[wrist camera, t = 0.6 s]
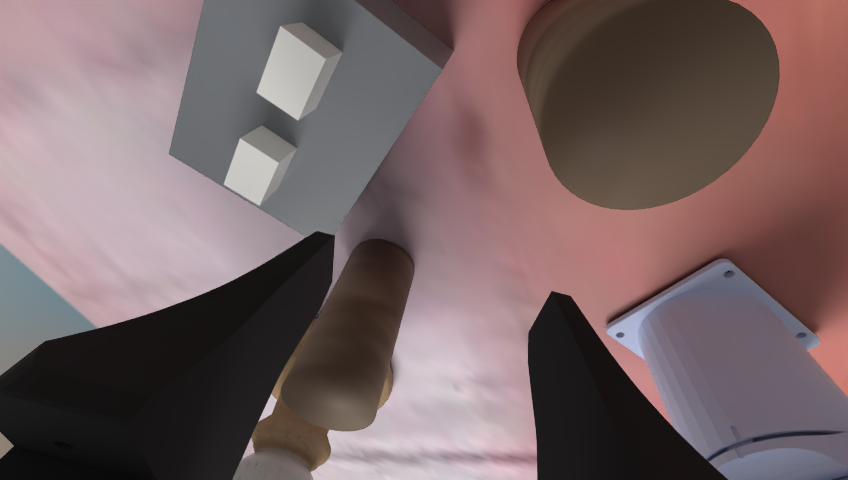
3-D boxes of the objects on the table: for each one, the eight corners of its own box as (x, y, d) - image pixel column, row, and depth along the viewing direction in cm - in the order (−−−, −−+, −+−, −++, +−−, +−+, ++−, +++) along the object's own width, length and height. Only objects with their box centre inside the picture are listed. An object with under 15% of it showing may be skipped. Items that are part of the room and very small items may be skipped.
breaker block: (454, 50, 17) (436, 78, 11) (355, 200, 22) (312, 268, 17) (299, -76, 15) (191, -113, 10) (233, 121, 20) (140, 168, 15)
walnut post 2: (647, 40, 15) (830, 99, 7) (565, 124, 18) (630, 240, 9) (572, -36, 14) (682, -69, 6) (496, 64, 17) (501, 136, 8)
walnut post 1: (427, 264, 24) (394, 407, 16) (392, 300, 26) (347, 441, 18) (370, 227, 23) (304, 359, 15) (339, 268, 25) (267, 401, 17)
